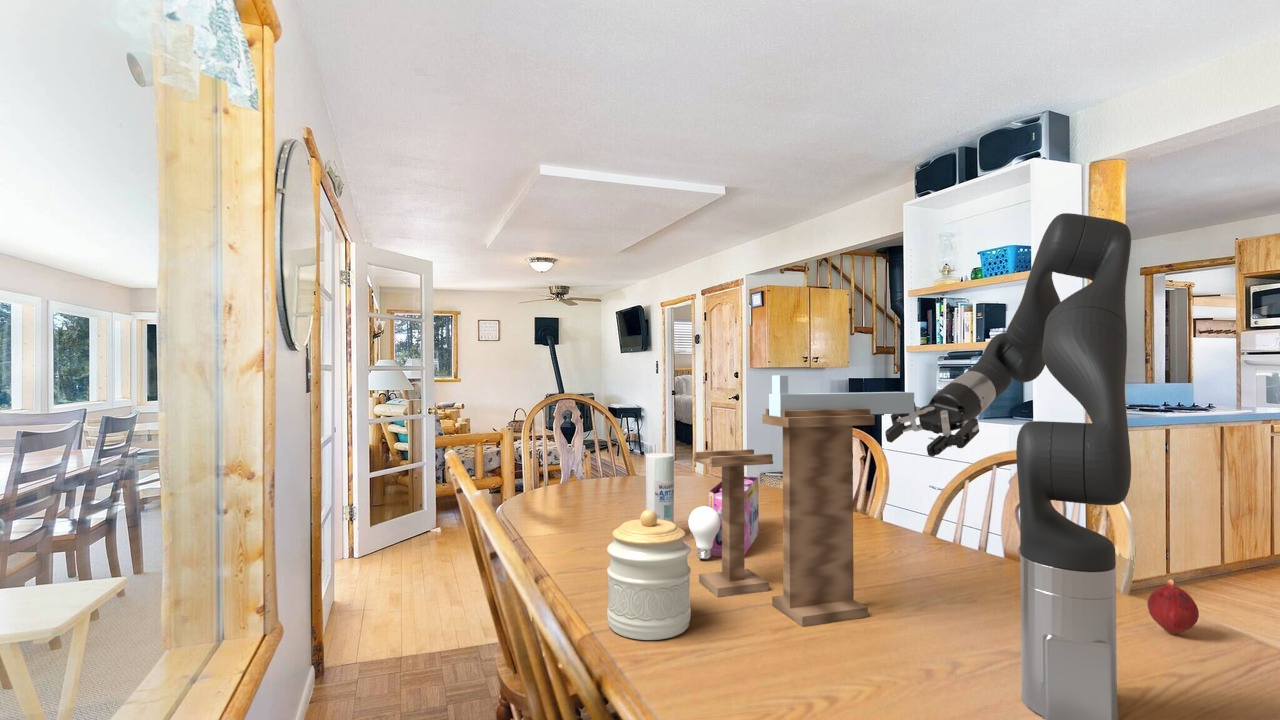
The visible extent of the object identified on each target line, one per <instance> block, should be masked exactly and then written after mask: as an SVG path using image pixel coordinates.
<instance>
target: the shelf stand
mask: <svg viewBox="0 0 1280 720" xmlns="http://www.w3.org/2000/svg"><path fill="white" fill-rule="evenodd" d="M875 415H876V414H870V409H832V410H792V411H782V417H777V416H770V415H769V408H765V414H762V415H761V416H762V417H761V419H762V422H761V423H762V424H763V425H770V426H775V427H781V428H782V561H783V562H782V576H783V578H782V579H783V581H782V583H783V584H782V587H783V590H782V593H783V595H782V594H781V595H774V596H772V601H771V602H772V603H771V605H772V607H774V608H775V609H777V610H778V611H780V613H782V614H784V615H785V616H787V618H790V619H791V620H793V621H794V622H795V623H797V624H798V625H799V626H800V627H808V626H814V625H816V626H817V625H821V624H828V623H834V622H835V623H836V622H841V621H848V620H854V619H860V618H861V619H862V618H868V617H869V615H868V611H869V609H868V606H866V605H864V604H862V603H861V602H858V600H855V598H854V595H855V593H854V590H855V589H854V587H855V586H854V579H855V578H854V457H853V456H854V453H853V450H854V449H853V447H854V445H853V443H854V441H853V440H854V439H853V437H854V436H853V435H854V434H853V433H854V432H853V430H854V427H853V426H874V425H876V424H875V423H876V419H875Z"/></svg>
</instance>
